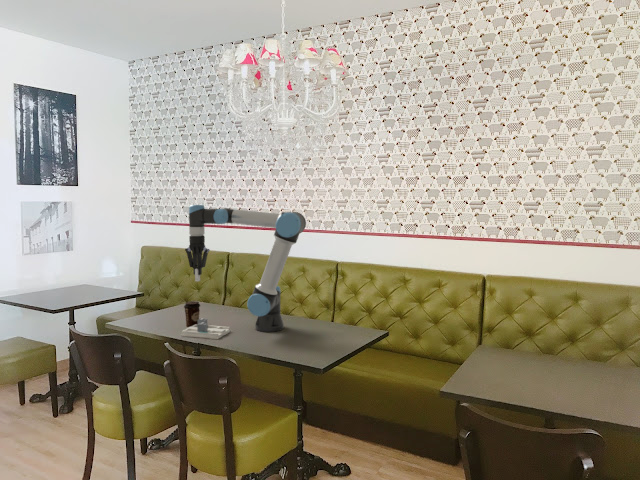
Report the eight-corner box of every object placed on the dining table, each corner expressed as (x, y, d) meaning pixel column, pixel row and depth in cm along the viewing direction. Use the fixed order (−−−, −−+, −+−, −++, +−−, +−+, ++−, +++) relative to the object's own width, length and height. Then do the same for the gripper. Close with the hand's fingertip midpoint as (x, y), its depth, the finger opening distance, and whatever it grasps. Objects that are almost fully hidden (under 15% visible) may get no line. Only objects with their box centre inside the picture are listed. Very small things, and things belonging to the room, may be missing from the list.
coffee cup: (203, 324, 271) (202, 301, 270) (197, 328, 262) (197, 304, 261) (187, 324, 272) (187, 300, 270) (181, 328, 263) (181, 303, 262)
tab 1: (207, 327, 258) (207, 318, 258) (204, 329, 256) (204, 319, 255) (200, 327, 259) (200, 317, 259) (197, 328, 257) (197, 318, 256)
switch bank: (230, 331, 257) (230, 326, 256) (217, 339, 243) (217, 333, 243) (195, 328, 262) (195, 323, 262) (181, 335, 249) (181, 330, 248)
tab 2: (207, 332, 250) (207, 322, 249) (204, 333, 247) (204, 323, 246) (200, 331, 251) (200, 321, 250) (197, 333, 248) (197, 323, 247)
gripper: (212, 235, 255) (212, 280, 257) (189, 234, 258) (190, 279, 260) (204, 236, 248) (205, 282, 250) (181, 235, 251) (182, 281, 253)
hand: (197, 281), depth 255 cm, fingers closed
